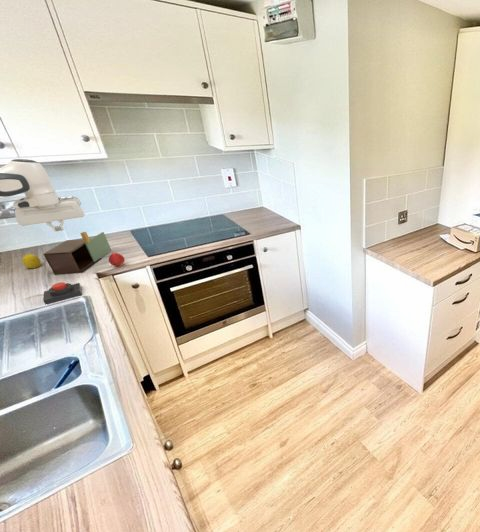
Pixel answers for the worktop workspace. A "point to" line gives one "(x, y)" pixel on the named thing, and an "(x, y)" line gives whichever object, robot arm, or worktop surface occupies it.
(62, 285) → the button
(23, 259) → the lemon
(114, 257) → the onion
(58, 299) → the button box
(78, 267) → the cabinet
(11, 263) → the worktop surface
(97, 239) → the sliding door
